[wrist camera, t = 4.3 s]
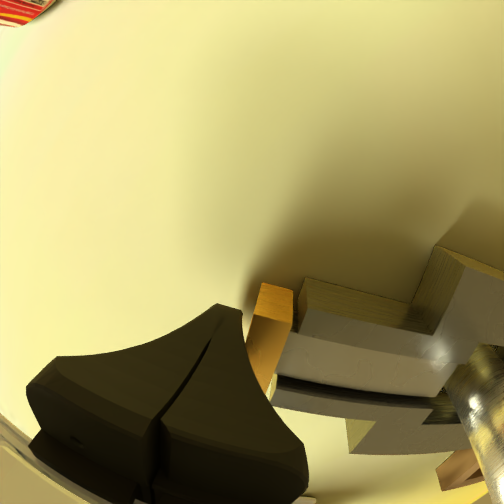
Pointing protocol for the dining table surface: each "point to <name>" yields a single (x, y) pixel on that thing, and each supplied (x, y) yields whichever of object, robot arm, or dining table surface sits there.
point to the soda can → (21, 11)
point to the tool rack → (459, 470)
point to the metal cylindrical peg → (482, 412)
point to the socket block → (400, 352)
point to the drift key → (330, 355)
